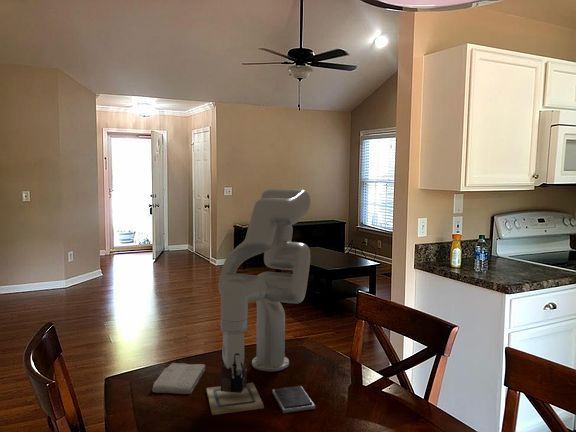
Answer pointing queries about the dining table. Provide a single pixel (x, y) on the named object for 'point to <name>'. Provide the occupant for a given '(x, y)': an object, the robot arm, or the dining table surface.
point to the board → (233, 400)
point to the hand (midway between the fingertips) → (233, 384)
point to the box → (227, 376)
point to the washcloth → (179, 378)
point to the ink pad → (293, 399)
